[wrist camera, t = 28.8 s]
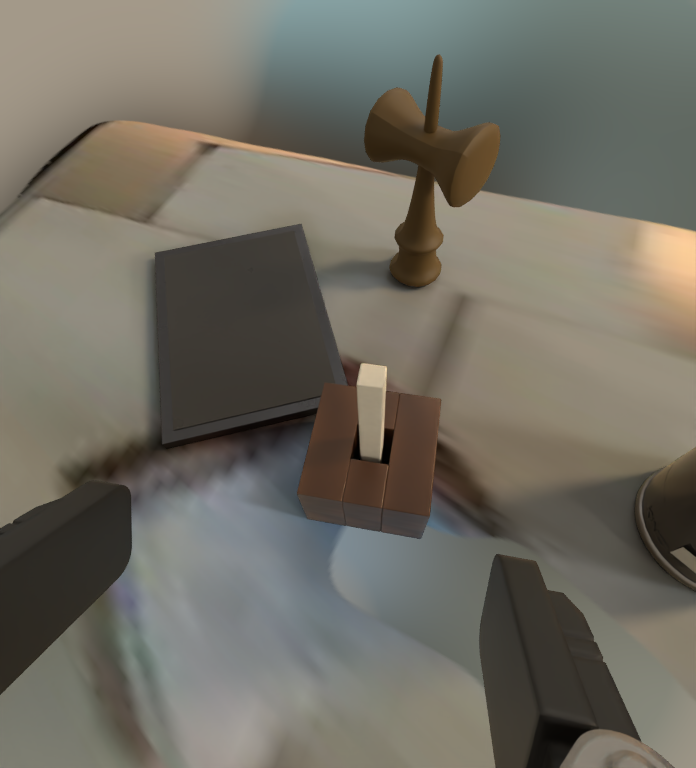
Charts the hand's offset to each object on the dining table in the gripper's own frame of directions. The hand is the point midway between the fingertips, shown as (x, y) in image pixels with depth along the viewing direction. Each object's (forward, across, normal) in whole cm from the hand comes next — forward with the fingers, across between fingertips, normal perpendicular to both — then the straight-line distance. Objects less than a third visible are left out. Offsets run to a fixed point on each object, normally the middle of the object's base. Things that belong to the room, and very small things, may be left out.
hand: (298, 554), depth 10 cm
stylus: (+26, 0, +10) cm, 27 cm away
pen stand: (+26, 0, +10) cm, 27 cm away
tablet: (+35, +15, 0) cm, 38 cm away
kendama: (+42, -1, -6) cm, 42 cm away
